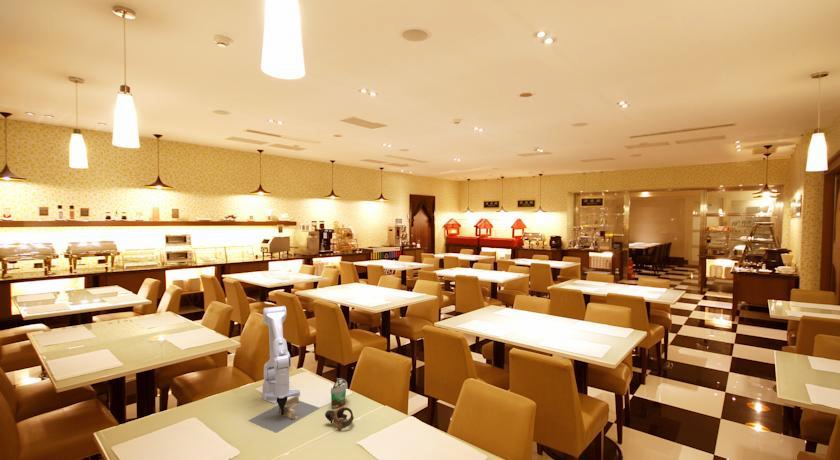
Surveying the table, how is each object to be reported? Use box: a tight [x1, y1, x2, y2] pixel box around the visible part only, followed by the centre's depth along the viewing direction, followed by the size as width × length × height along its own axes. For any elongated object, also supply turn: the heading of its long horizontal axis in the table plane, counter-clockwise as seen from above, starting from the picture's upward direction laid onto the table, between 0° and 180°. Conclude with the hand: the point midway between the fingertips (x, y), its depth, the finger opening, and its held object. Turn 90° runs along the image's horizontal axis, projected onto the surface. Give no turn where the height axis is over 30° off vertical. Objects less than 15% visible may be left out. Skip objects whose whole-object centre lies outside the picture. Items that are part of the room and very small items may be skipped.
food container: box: [330, 377, 349, 409], centre depth 185 cm, size 12×6×10 cm, turn 179°
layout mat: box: [247, 400, 320, 434], centre depth 175 cm, size 18×24×1 cm
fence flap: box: [284, 406, 295, 419], centre depth 174 cm, size 9×2×4 cm, turn 53°
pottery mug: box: [324, 406, 355, 431], centre depth 167 cm, size 12×10×8 cm
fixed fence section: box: [279, 396, 300, 413], centre depth 181 cm, size 2×11×4 cm, turn 149°
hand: (282, 413), depth 173 cm, fingers closed, pressing on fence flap
